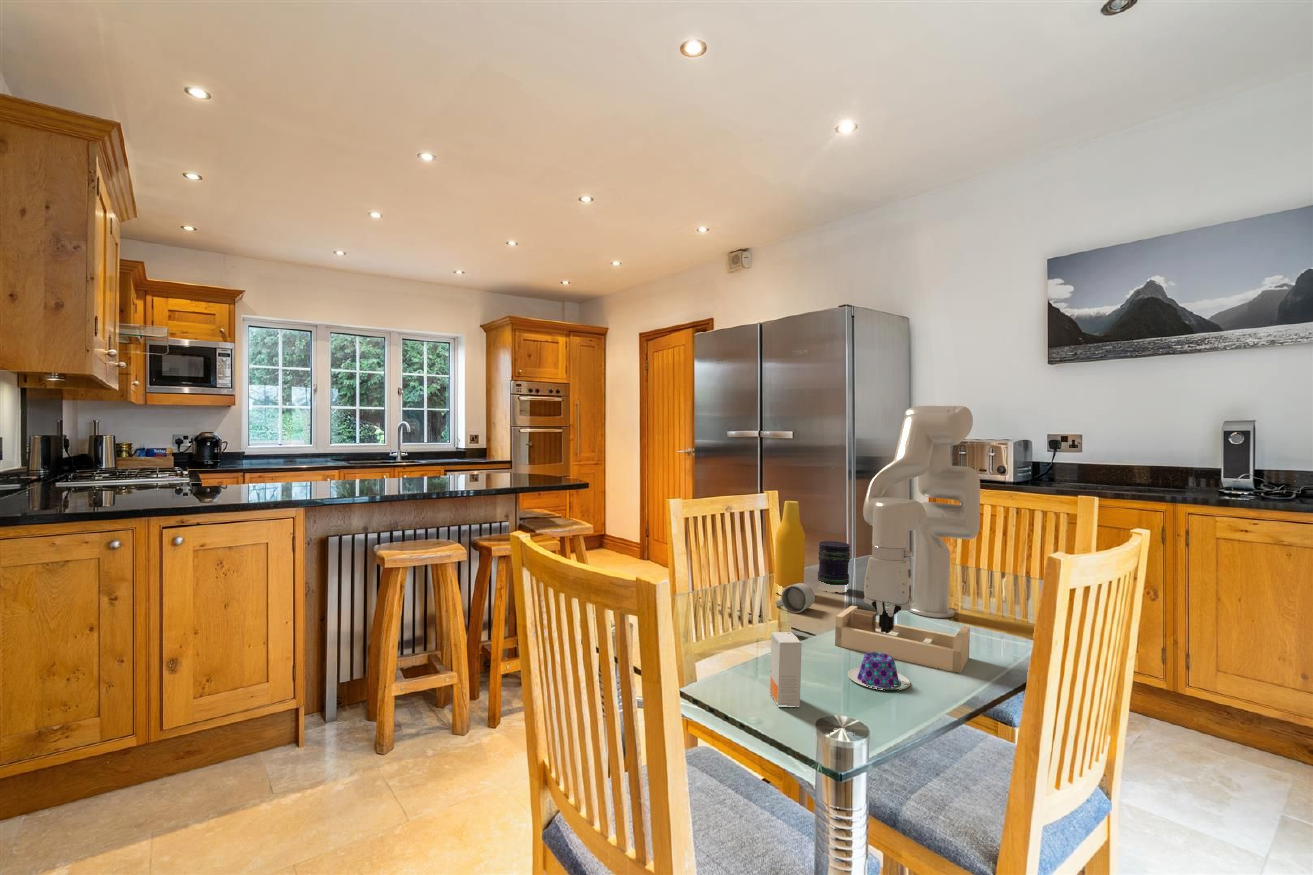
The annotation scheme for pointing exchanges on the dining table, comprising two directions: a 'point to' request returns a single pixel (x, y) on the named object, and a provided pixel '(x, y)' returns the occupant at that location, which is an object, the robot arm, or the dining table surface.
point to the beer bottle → (790, 547)
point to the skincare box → (785, 668)
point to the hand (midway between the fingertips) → (886, 631)
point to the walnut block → (864, 620)
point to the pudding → (877, 671)
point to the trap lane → (906, 643)
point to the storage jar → (833, 562)
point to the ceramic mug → (796, 598)
